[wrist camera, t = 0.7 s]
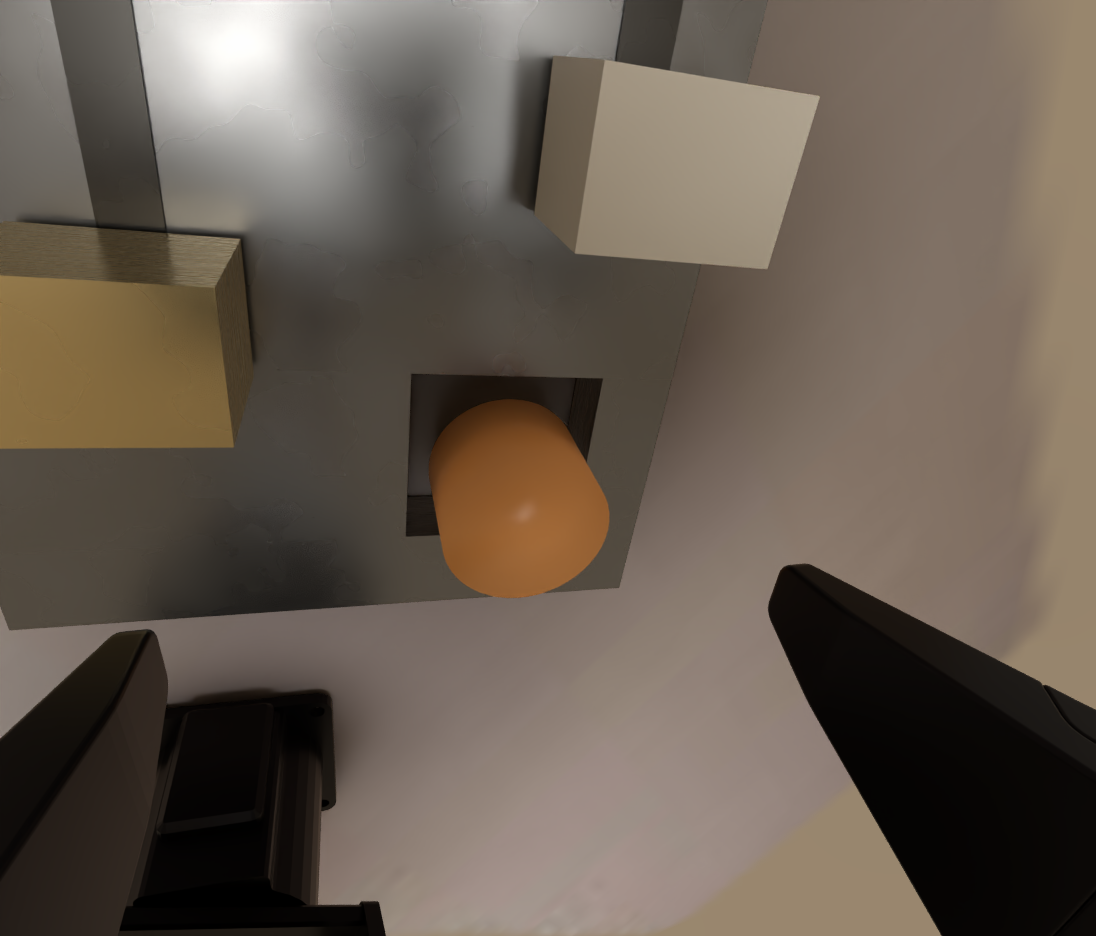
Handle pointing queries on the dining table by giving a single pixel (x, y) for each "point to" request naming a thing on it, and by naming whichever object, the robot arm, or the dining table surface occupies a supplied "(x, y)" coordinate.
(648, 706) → the dining table surface
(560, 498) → the orange push button
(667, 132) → the beige block
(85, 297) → the tan block
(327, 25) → the plate
